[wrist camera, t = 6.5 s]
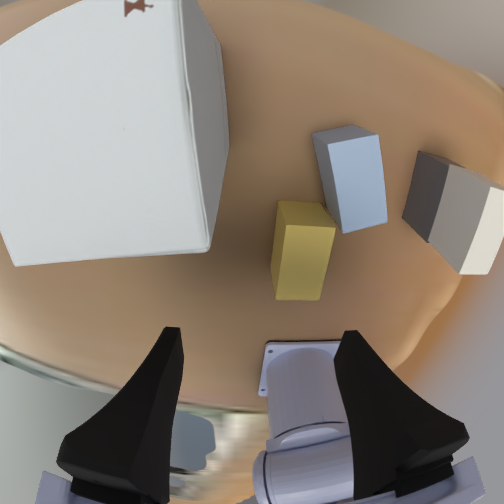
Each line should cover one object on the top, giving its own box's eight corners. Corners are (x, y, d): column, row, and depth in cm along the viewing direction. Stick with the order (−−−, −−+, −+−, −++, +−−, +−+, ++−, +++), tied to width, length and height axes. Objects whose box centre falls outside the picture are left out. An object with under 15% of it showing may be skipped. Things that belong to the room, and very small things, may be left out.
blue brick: (364, 198, 20) (387, 222, 17) (326, 207, 21) (342, 233, 17) (353, 124, 17) (378, 134, 14) (310, 133, 18) (327, 144, 14)
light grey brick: (456, 243, 18) (487, 274, 14) (427, 240, 17) (458, 274, 14) (478, 172, 15) (517, 195, 11) (450, 163, 15) (490, 186, 11)
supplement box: (110, 64, 14) (-38, 64, 4) (223, 42, 14) (188, -40, 4) (124, 166, 18) (10, 271, 7) (231, 152, 18) (217, 258, 7)
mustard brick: (308, 267, 23) (318, 300, 20) (270, 266, 23) (275, 299, 20) (320, 202, 20) (335, 227, 17) (278, 199, 20) (286, 224, 17)
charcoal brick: (429, 221, 21) (455, 245, 18) (401, 217, 21) (426, 242, 18) (446, 158, 18) (478, 174, 15) (418, 150, 18) (449, 166, 15)
